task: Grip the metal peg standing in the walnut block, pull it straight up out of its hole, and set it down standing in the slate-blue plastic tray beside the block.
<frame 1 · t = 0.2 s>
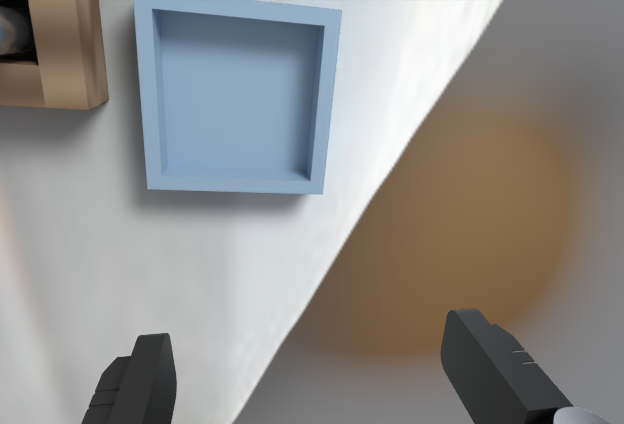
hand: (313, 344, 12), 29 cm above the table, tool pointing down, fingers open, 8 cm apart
tray: (240, 96, 36), on the table
pin block: (33, 30, 32), on the table
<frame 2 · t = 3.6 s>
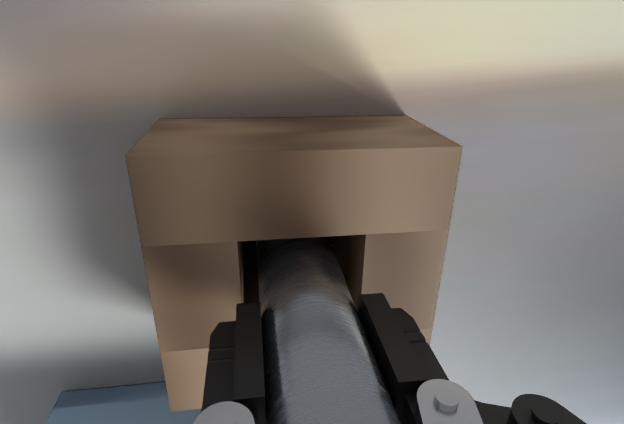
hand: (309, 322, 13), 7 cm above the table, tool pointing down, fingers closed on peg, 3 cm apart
peg: (306, 309, 13), in the pin block, touching gripper
pin block: (289, 227, 19), on the table
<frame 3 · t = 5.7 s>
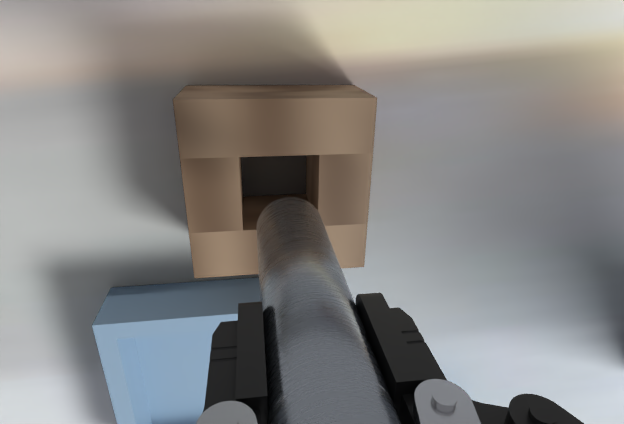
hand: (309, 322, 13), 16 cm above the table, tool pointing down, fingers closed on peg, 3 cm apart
tray: (228, 359, 33), on the table
peg: (307, 309, 13), point 15 cm above the table, touching gripper
pin block: (274, 165, 27), on the table
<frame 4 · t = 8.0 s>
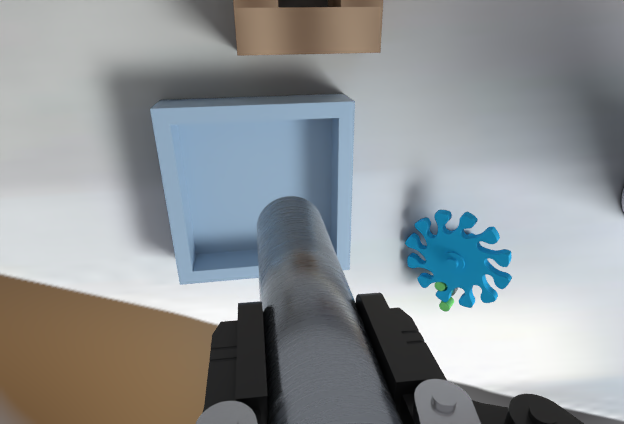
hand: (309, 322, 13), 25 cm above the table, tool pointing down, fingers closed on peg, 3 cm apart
tray: (260, 182, 37), on the table
peg: (307, 308, 13), point 24 cm above the table, touching gripper
gear: (437, 244, 43), on the table
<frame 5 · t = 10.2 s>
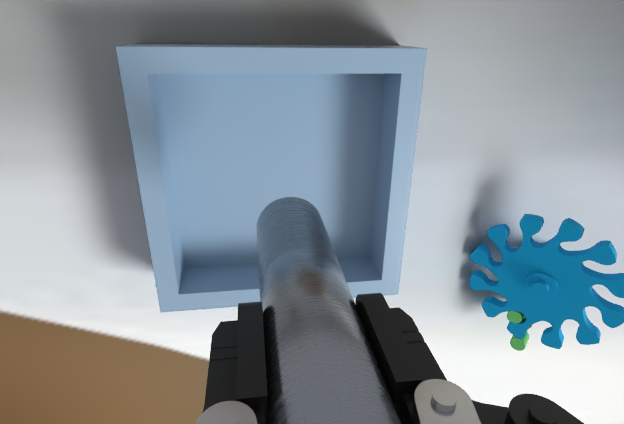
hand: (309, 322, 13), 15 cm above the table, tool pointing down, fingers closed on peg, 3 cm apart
tray: (277, 169, 27), on the table
peg: (307, 309, 13), point 15 cm above the table, touching gripper
gear: (508, 259, 33), on the table
when the fingers open (9 cm above the table, at t = 12.1 s): peg drops 1 cm, resting on tray.
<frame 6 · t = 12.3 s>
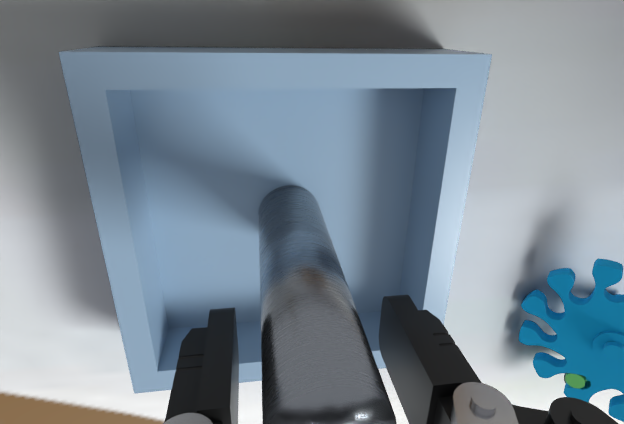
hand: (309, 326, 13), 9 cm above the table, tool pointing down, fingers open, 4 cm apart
tray: (284, 206, 21), on the table
peg: (302, 284, 15), in the tray, point 7 cm above the table
gear: (563, 307, 27), on the table
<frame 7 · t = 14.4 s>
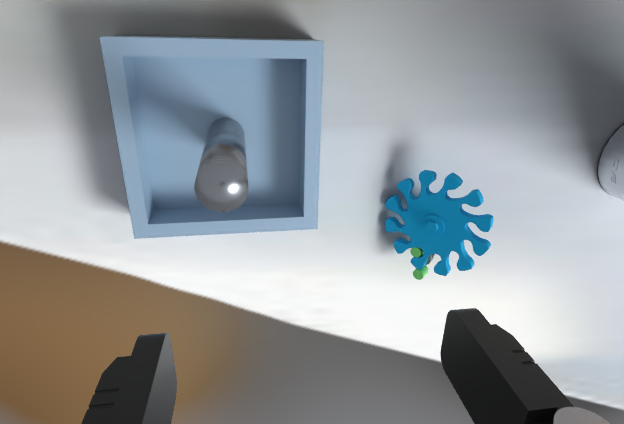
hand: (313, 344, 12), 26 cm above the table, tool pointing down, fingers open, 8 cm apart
tray: (224, 133, 35), on the table
peg: (224, 157, 29), in the tray, point 7 cm above the table
gear: (417, 211, 42), on the table
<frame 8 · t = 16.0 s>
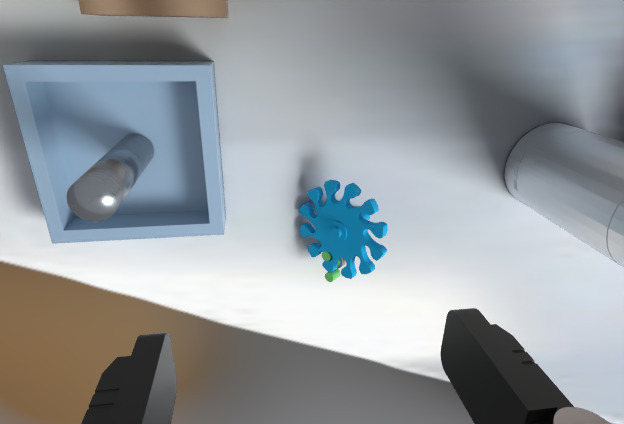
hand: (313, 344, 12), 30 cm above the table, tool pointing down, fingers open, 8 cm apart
tray: (137, 147, 38), on the table
peg: (118, 170, 32), in the tray, point 7 cm above the table
gear: (332, 217, 44), on the table
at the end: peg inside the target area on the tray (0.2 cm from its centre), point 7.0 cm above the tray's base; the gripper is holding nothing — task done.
